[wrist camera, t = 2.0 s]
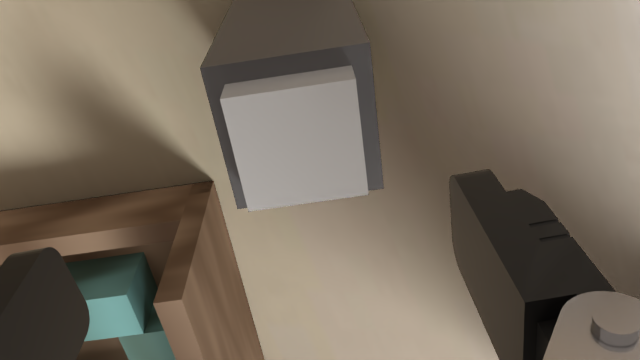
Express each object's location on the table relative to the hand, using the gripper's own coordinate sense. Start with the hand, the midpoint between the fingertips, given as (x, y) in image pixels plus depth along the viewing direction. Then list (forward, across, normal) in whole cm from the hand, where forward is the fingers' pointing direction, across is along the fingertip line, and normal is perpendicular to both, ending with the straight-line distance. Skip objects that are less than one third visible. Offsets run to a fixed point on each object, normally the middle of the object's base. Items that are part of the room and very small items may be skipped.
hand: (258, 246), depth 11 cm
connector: (+13, -1, 0) cm, 13 cm away
